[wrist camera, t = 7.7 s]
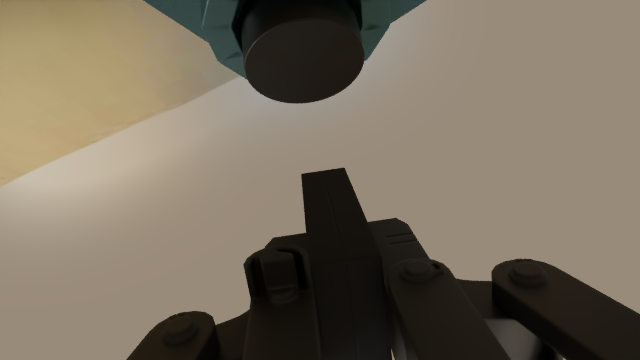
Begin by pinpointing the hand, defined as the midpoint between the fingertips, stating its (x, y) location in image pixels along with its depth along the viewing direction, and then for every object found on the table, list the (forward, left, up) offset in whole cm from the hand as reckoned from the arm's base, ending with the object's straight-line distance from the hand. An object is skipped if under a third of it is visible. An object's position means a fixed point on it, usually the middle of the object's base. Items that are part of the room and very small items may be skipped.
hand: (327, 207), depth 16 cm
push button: (-1, 0, -8) cm, 8 cm away
